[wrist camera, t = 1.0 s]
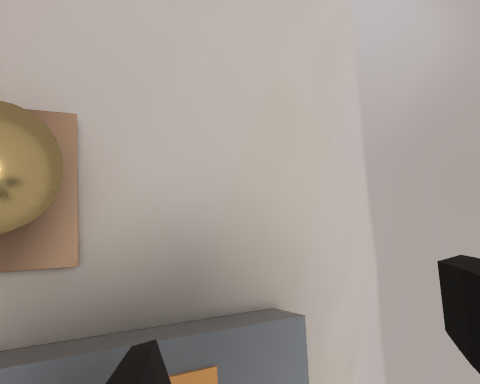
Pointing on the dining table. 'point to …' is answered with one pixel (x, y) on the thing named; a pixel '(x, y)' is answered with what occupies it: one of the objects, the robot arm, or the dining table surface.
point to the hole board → (177, 353)
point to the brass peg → (26, 167)
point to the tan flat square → (49, 212)
